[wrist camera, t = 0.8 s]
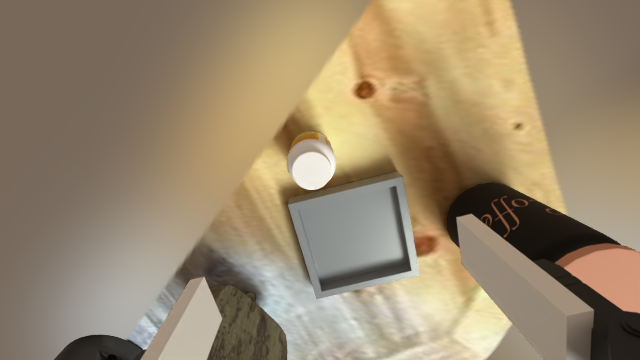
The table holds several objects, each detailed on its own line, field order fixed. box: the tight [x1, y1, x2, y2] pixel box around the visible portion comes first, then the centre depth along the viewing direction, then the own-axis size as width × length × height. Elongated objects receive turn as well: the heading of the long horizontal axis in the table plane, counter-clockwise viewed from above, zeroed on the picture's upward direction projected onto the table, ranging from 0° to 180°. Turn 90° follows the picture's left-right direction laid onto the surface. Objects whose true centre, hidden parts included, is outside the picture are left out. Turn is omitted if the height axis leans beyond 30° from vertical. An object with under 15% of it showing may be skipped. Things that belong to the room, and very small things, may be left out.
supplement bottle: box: [287, 131, 336, 190], centre depth 34 cm, size 5×5×10 cm
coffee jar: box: [447, 183, 640, 313], centre depth 34 cm, size 11×11×18 cm
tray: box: [288, 171, 420, 299], centre depth 41 cm, size 15×15×2 cm
